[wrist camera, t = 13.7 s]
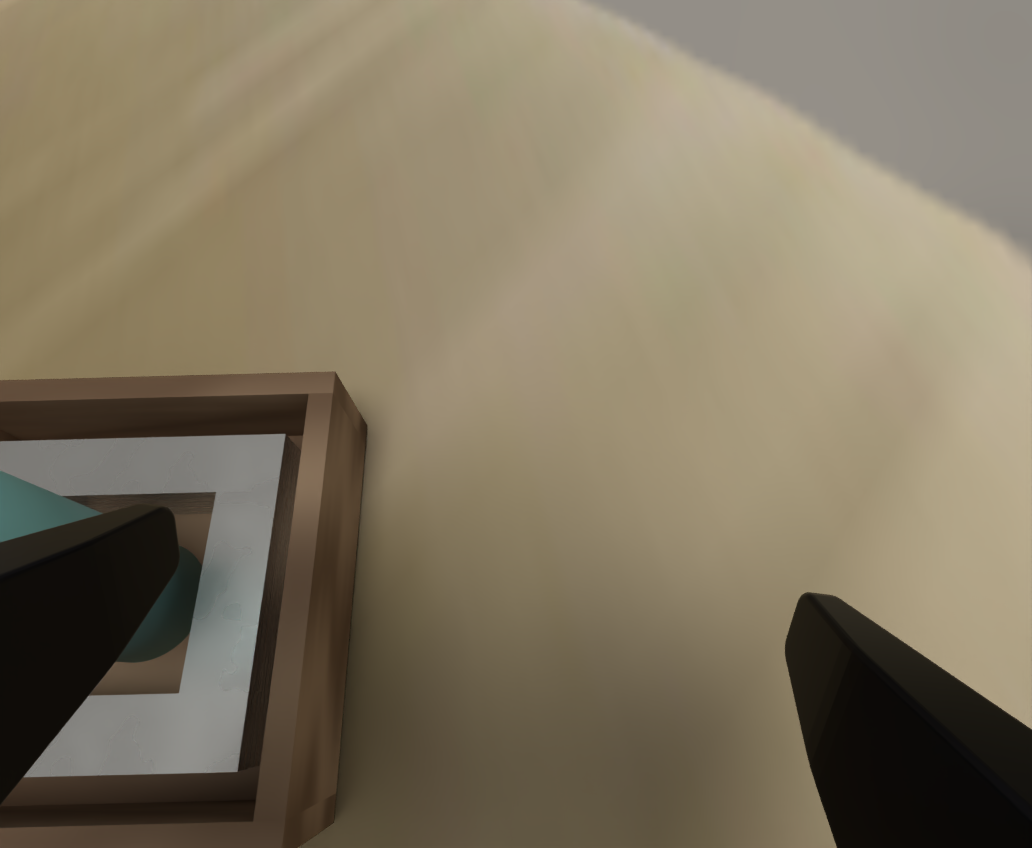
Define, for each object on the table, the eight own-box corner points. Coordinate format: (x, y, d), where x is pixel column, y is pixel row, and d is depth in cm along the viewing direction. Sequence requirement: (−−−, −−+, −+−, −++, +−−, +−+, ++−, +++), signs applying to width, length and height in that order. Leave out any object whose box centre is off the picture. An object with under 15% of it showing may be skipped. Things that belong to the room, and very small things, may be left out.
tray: (333, 823, 19) (280, 859, 15) (-100, 833, 19) (-273, 873, 15) (367, 425, 24) (335, 371, 20) (31, 434, 24) (-69, 382, 20)
